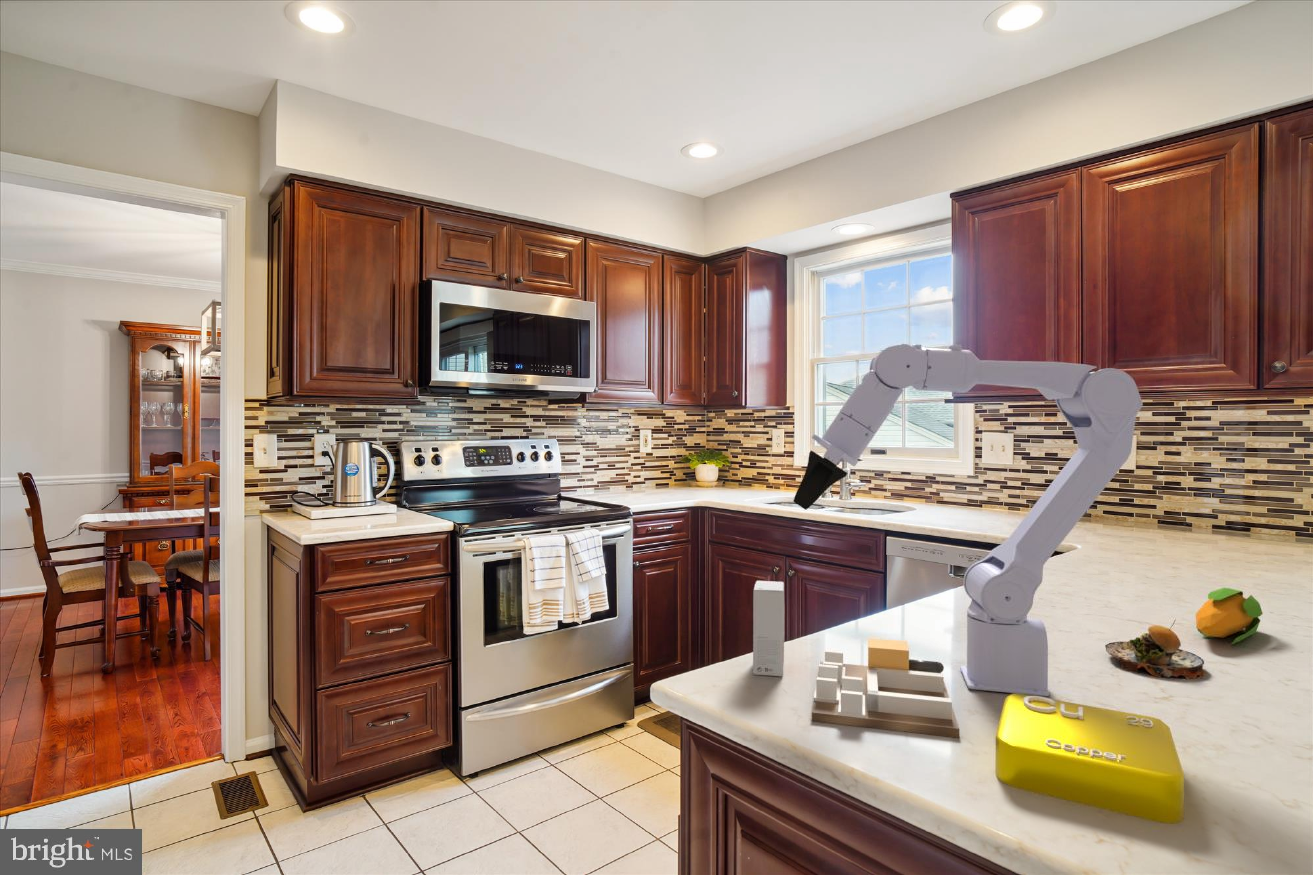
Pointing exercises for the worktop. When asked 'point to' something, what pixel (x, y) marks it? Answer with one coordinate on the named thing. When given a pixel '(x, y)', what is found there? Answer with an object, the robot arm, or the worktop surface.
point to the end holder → (907, 702)
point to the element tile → (1090, 757)
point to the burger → (1157, 654)
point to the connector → (897, 657)
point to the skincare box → (768, 628)
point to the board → (886, 720)
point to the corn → (1228, 614)
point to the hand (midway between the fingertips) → (801, 504)
